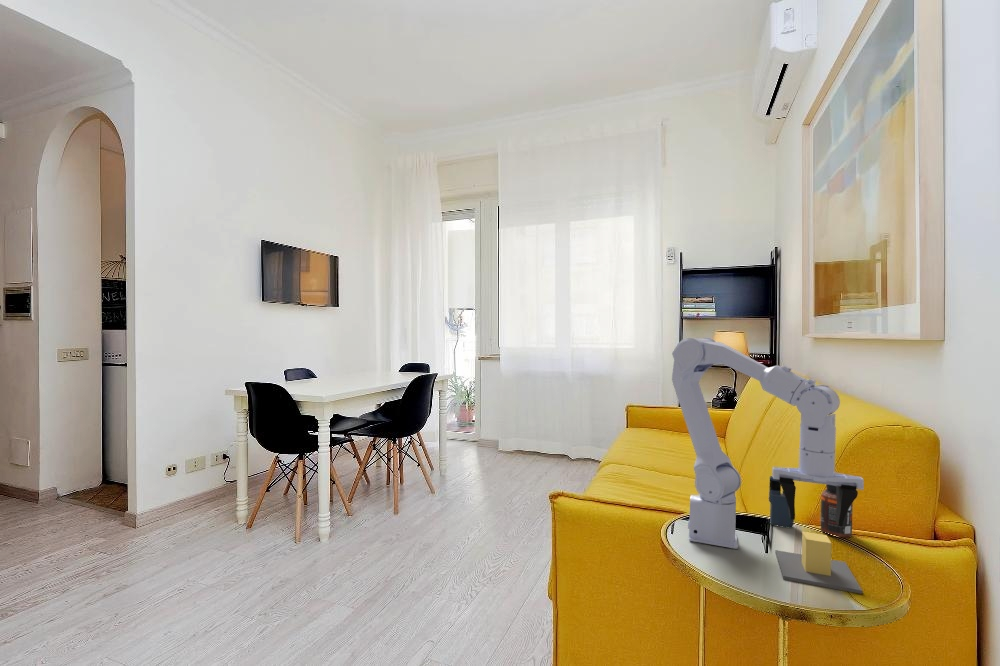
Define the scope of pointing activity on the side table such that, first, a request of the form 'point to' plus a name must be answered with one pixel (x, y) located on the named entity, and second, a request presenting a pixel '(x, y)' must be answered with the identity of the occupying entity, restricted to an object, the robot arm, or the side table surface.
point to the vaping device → (778, 505)
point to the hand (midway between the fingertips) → (815, 521)
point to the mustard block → (816, 553)
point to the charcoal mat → (796, 572)
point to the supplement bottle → (834, 514)
